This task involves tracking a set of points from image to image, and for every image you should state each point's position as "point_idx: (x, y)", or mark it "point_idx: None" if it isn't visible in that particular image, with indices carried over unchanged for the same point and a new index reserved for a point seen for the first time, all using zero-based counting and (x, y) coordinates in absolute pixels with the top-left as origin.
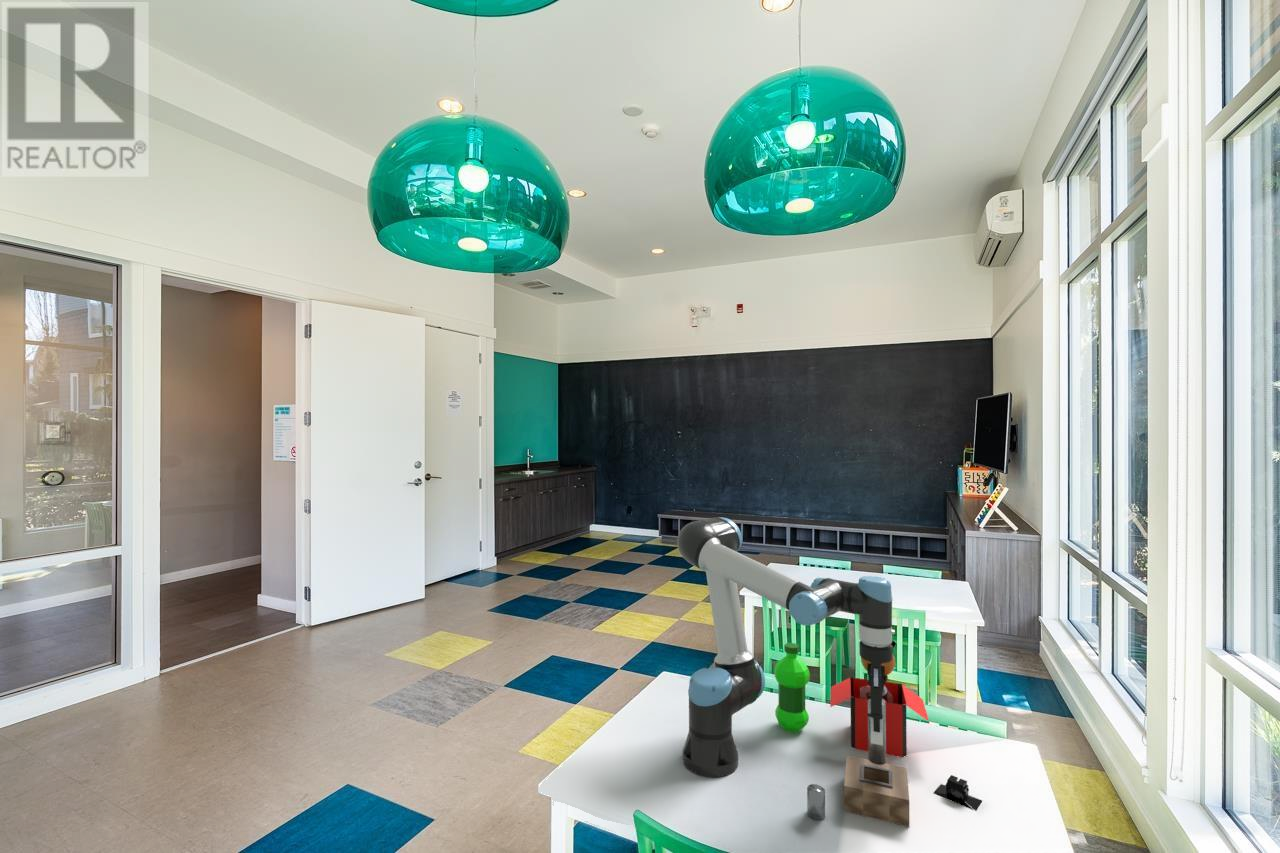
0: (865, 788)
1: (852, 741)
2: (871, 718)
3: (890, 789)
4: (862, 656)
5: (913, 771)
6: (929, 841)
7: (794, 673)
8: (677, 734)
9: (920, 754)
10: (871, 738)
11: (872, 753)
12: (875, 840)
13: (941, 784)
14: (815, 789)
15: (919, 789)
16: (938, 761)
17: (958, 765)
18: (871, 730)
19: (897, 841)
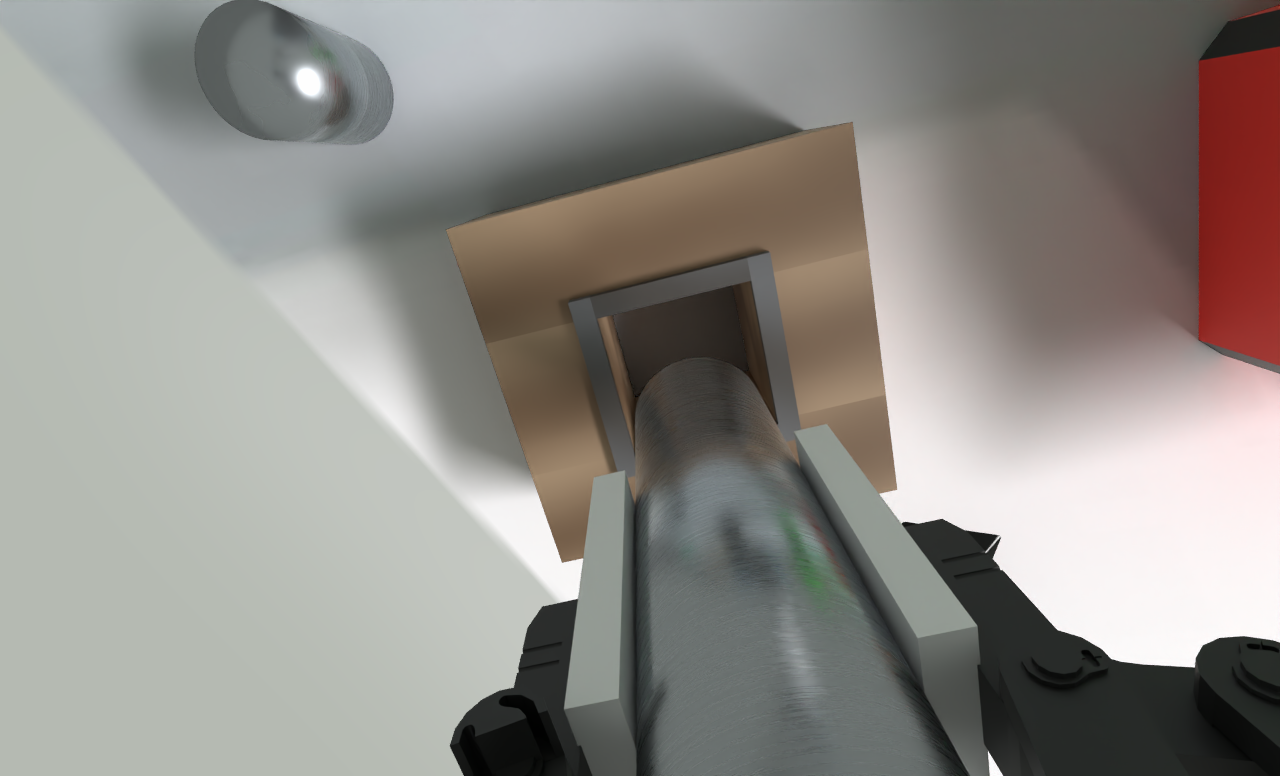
0: (511, 351)
1: (1258, 26)
2: (574, 684)
3: (598, 468)
4: None
5: (1064, 416)
6: (533, 565)
7: None
8: None
9: (1268, 411)
10: (592, 508)
11: (639, 429)
12: (380, 399)
13: (998, 538)
14: (254, 68)
15: (902, 469)
16: (1221, 495)
17: (1214, 570)
18: (585, 564)
19: (443, 472)
